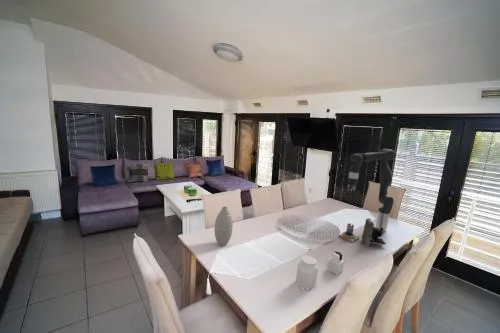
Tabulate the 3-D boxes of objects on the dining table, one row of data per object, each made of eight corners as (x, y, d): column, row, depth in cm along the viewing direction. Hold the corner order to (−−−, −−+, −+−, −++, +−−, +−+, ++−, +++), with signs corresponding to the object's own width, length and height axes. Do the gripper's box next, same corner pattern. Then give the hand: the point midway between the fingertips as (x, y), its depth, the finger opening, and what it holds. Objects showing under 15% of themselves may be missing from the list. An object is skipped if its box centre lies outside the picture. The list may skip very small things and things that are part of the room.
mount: (345, 232, 203) (345, 229, 202) (358, 238, 194) (359, 234, 193) (338, 236, 195) (338, 232, 194) (352, 242, 186) (352, 238, 185)
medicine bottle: (332, 265, 153) (335, 248, 151) (342, 271, 148) (345, 254, 146) (326, 269, 149) (329, 252, 147) (336, 275, 144) (339, 257, 141)
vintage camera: (385, 249, 180) (391, 225, 177) (364, 245, 183) (369, 221, 180) (381, 243, 190) (386, 220, 186) (361, 239, 193) (366, 217, 189)
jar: (305, 274, 141) (308, 252, 139) (318, 283, 134) (322, 260, 131) (292, 282, 134) (295, 258, 131) (306, 292, 127) (309, 267, 124)
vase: (215, 239, 175) (216, 203, 170) (231, 240, 176) (234, 204, 170) (212, 248, 163) (214, 210, 158) (230, 249, 163) (233, 211, 158)
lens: (347, 233, 198) (349, 222, 196) (353, 236, 194) (355, 225, 192) (344, 235, 194) (346, 224, 192) (350, 238, 191) (352, 226, 189)
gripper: (352, 175, 204) (349, 193, 207) (345, 177, 195) (342, 195, 198) (361, 177, 199) (358, 195, 202) (354, 179, 189) (350, 198, 192)
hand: (350, 195), depth 200 cm, fingers open, 8 cm apart
